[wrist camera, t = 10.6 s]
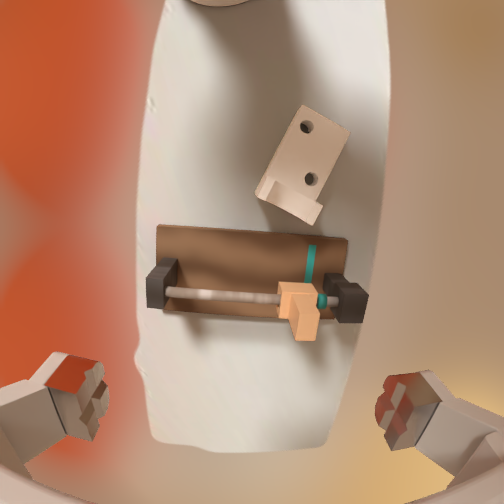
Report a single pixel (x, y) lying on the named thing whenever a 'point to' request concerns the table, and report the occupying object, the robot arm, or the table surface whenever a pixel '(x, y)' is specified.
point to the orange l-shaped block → (299, 309)
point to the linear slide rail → (249, 272)
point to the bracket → (302, 164)
